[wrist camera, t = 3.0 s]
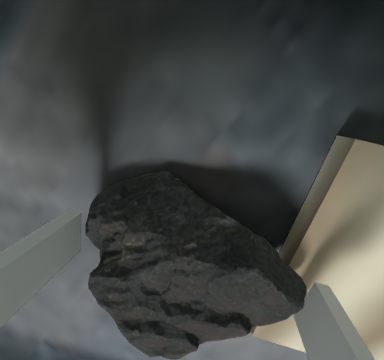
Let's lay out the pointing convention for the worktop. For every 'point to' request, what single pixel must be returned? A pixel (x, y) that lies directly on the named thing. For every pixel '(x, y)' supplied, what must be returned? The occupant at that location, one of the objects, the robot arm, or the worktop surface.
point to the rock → (183, 268)
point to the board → (341, 242)
